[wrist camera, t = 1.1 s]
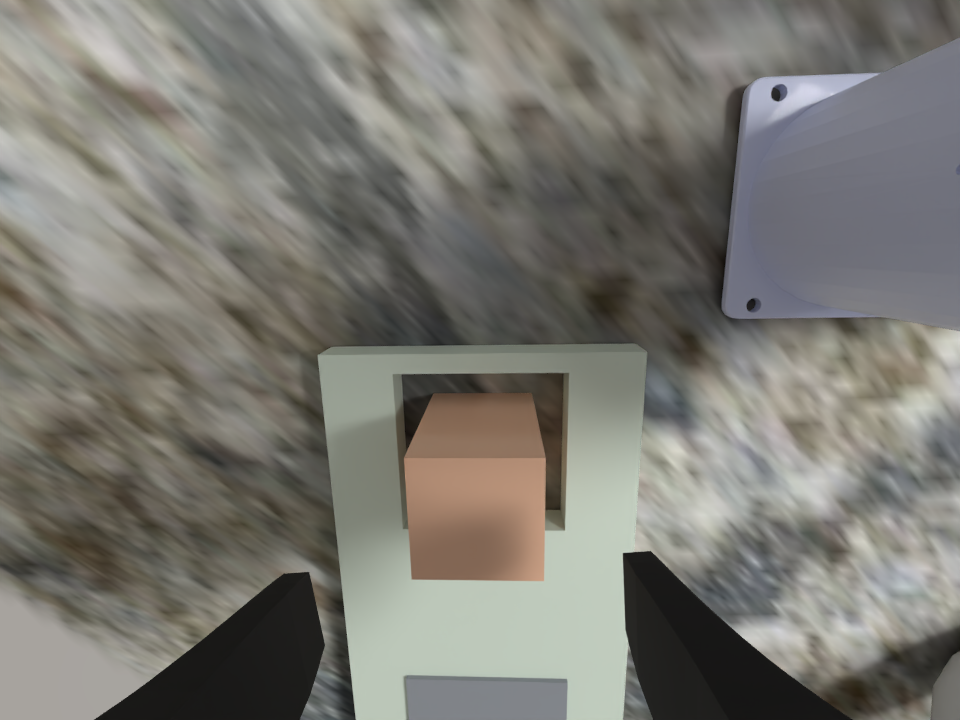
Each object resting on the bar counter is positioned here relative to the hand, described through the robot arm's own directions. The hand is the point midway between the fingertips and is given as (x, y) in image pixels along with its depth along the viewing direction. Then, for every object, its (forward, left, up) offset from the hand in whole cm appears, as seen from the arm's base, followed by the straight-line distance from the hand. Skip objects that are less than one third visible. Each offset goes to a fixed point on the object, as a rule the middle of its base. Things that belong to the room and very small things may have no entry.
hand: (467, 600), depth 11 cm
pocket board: (0, +7, -9) cm, 11 cm away
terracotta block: (0, 0, -9) cm, 9 cm away
